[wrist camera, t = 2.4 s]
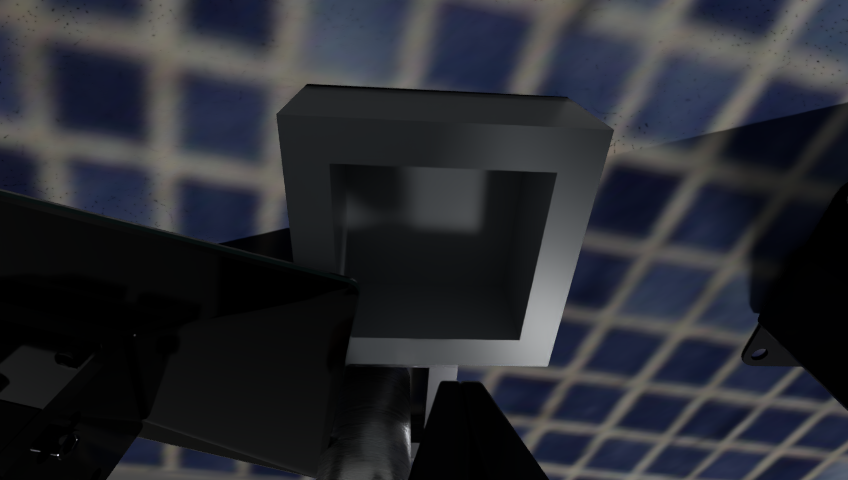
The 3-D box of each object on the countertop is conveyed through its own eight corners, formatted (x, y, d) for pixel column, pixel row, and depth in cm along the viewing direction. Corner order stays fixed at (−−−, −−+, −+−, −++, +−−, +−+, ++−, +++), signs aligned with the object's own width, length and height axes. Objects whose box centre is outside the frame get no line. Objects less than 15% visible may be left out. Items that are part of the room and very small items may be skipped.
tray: (567, 97, 9) (613, 129, 7) (522, 299, 12) (547, 366, 10) (307, 83, 9) (275, 114, 7) (323, 294, 12) (305, 362, 10)
